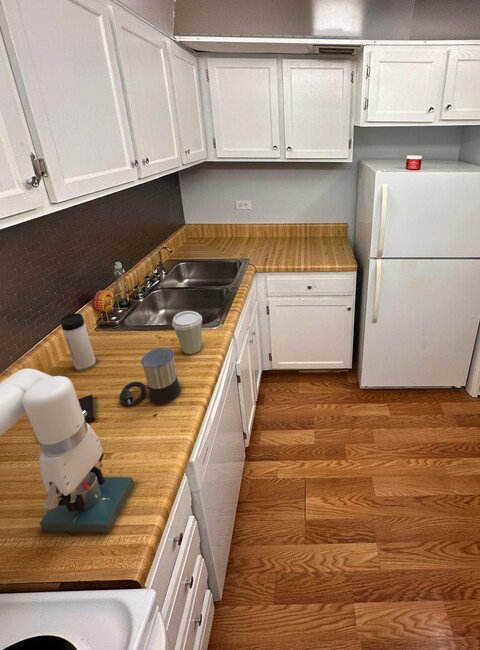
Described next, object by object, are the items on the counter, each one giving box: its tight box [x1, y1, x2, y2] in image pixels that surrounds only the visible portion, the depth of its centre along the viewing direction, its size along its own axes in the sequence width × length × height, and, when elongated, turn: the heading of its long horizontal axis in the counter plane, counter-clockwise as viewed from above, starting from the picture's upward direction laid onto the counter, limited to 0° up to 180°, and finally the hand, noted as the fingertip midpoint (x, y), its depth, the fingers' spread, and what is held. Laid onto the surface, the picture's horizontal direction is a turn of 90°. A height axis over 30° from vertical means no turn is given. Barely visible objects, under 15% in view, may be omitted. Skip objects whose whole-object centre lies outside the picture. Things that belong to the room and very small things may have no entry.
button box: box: [78, 394, 96, 424], centre depth 96 cm, size 12×10×4 cm
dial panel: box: [39, 476, 135, 534], centre depth 73 cm, size 14×10×3 cm
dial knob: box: [76, 472, 102, 510], centre depth 72 cm, size 5×5×5 cm
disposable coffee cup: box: [171, 310, 203, 355], centre depth 124 cm, size 11×11×15 cm
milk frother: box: [119, 347, 182, 407], centre depth 102 cm, size 14×16×15 cm
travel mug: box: [59, 312, 97, 372], centre depth 115 cm, size 6×7×20 cm
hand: (87, 495), depth 72 cm, fingers closed on dial knob, 5 cm apart
